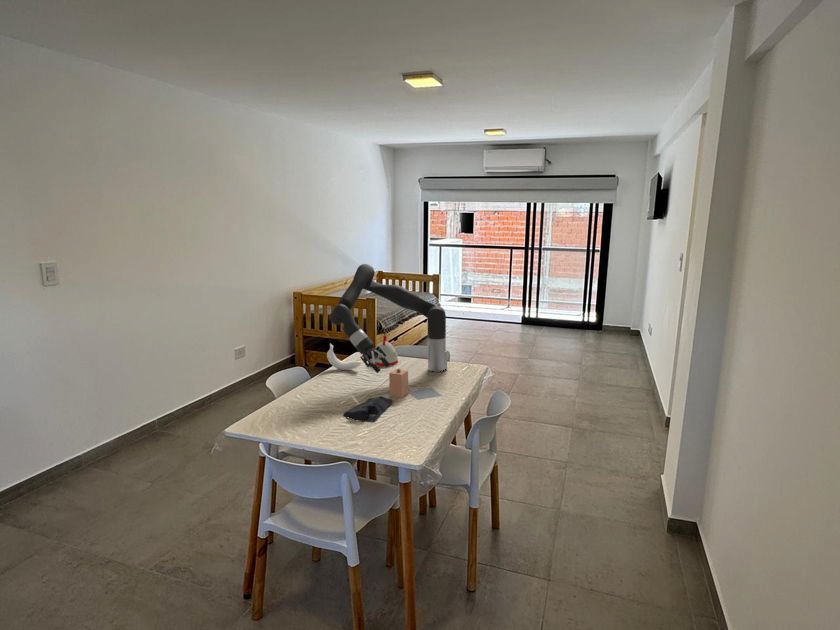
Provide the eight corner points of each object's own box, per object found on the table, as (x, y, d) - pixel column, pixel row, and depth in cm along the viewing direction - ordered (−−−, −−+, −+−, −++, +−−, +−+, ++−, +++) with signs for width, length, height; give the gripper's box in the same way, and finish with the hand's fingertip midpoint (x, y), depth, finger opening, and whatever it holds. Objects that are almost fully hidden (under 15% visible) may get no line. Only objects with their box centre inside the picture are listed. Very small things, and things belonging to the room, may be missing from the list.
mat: (430, 388, 231) (430, 387, 231) (442, 396, 221) (442, 395, 220) (407, 392, 227) (407, 391, 227) (417, 401, 216) (417, 399, 216)
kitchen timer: (399, 359, 280) (399, 333, 277) (396, 366, 266) (395, 339, 263) (375, 358, 281) (374, 332, 278) (370, 365, 267) (369, 338, 265)
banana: (360, 372, 256) (359, 345, 253) (325, 370, 260) (324, 343, 257) (363, 369, 261) (362, 342, 258) (329, 367, 265) (328, 341, 262)
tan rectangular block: (396, 392, 227) (395, 366, 225) (408, 394, 225) (408, 368, 222) (389, 396, 222) (389, 370, 219) (402, 398, 219) (401, 372, 217)
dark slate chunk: (398, 405, 213) (398, 394, 212) (372, 424, 193) (372, 413, 192) (368, 400, 219) (367, 389, 218) (339, 418, 200) (339, 407, 199)
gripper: (364, 342, 235) (386, 369, 232) (348, 350, 222) (370, 378, 220) (374, 333, 231) (396, 359, 229) (357, 340, 219) (380, 368, 216)
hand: (383, 368), depth 224 cm, fingers open, 8 cm apart
